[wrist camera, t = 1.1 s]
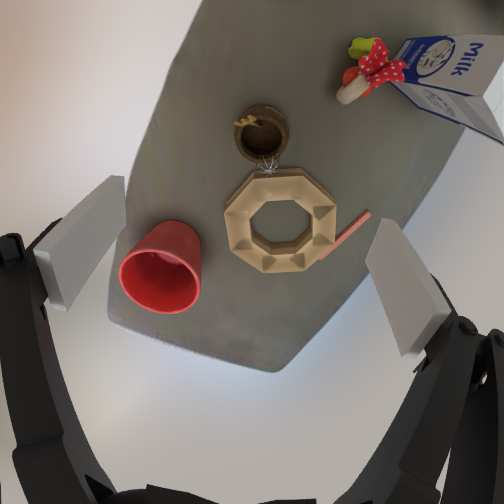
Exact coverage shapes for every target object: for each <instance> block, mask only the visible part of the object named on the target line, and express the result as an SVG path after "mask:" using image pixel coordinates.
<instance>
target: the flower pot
mask: <svg viewBox="0 0 504 504" xmlns="http://www.w3.org/2000/svg"><path fill="white" fill-rule="evenodd" d="M119 281H120V284H121V286H122V288H123V290H124V291H125V293H126V294H127V295H128V296H129V297H130V298H131V299H132V300H133V301H134V302H135V303H137V304H138V305H140V306H141V307H143V308H145V309H147V310H150V311H153V312H157V313H163V314H174V313H179V312H182V311H185V310H187V309H189V308H190V307H191V306H192V305H193V304H194V303H195V302H196V301H197V299H198V297H199V294H200V289H201V244H200V239H199V237H198V235H197V233H196V232H195V231H194V230H193V229H192V228H191V227H190V226H189V225H187V224H185V223H183V222H180V221H173V220H170V221H164V222H162V223H160V224H158V225H157V226H156V227H155V228H154V229H152V230H151V231H150V232H149V233H148V234H147V235H146V236H145V237H144V238H143V239H142V240H141V241H140V242H139V243H138V244H137V245H136V246H135V247H134V248H133V249H132V250H131V251H130V252H129V253H128V254H127V256H126V257H125V258H124V259H123V261H122V262H121V264H120V267H119Z"/></svg>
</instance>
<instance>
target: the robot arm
mask: <svg viewBox="0 0 504 504" xmlns="http://www.w3.org/2000/svg"><path fill="white" fill-rule="evenodd" d="M125 226H126V210H125V188H124V176H113V175H111V176H110V177H109V178H107V179H106V180H105V181H104V182H102V183H101V184H100V185H99V186H98V187H97V188H96V189H94V191H92V192H91V193H90V194H89V195H88V196H86V197H85V198H84V199H83V200H82V201H81V202H80V203H79V204H78V205H77V206H75V207H74V208H73V209H72V210H71V211H70V212H69V213H68V214H67V215H66V216H65V217H64V218H60V219H58V220H56V221H54V222H52V223H51V224H50V225H49V226H48V227H47V228H46V229H45V231H43V232H42V233H41V234H40V236H38V237H37V238H36V239H35V240H34V241H33V242H32V243H31V244H30V245H29V247H27V248H26V250H25V247H24V244H23V241H22V237H21V235H20V234H18V233H9V234H6V235H3V236H1V237H0V362H1V369H2V377H3V383H4V389H5V395H6V400H7V405H8V410H9V414H10V419H11V423H12V427H13V431H14V434H15V438H16V442H17V447H16V449H14V450H13V452H12V458H13V462H14V467H15V469H16V472H17V475H18V478H19V481H20V484H21V486H22V489H23V491H24V494H25V496H26V499H27V501H28V503H29V504H219V503H215V502H213V501H210V500H207V499H204V498H202V497H199V496H196V495H194V494H191V493H188V492H183V491H177V490H171V489H167V488H162V487H157V486H153V485H149V484H147V487H146V489H134V490H128V491H123V492H119V493H117V491H116V489H115V488H114V486H113V484H112V483H111V481H110V479H109V478H108V476H107V475H106V473H105V472H104V470H103V469H102V468H101V467H100V465H99V463H98V461H97V460H96V458H95V456H94V454H93V452H92V450H91V447H90V445H89V443H88V441H87V439H86V436H85V434H84V432H83V429H82V427H81V425H80V422H79V420H78V417H77V415H76V412H75V410H74V407H73V404H72V401H71V399H70V396H69V393H68V390H67V387H66V384H65V381H64V378H63V375H62V372H61V368H60V365H59V362H58V358H57V355H56V351H55V347H54V343H53V339H52V335H51V331H50V326H49V322H48V317H47V312H46V308H45V306H44V302H45V300H46V299H47V297H48V298H49V300H50V303H51V305H52V307H53V308H56V309H59V310H63V311H66V312H67V311H68V310H69V308H70V306H71V305H72V303H73V302H74V300H75V298H76V297H77V295H78V294H79V292H80V290H81V289H82V287H83V286H84V284H85V283H86V281H87V280H88V278H89V277H90V275H91V274H92V272H93V271H94V269H95V268H96V266H97V265H98V263H99V262H100V260H101V259H102V257H103V256H104V255H105V253H106V252H107V250H108V249H109V247H110V246H111V245H112V243H113V242H114V240H115V239H116V238H117V236H118V235H119V234H120V232H121V231H122V230H123V228H124V227H125ZM365 263H366V265H367V267H368V270H369V272H370V274H371V277H372V279H373V282H374V284H375V286H376V289H377V291H378V294H379V296H380V299H381V302H382V304H383V307H384V309H385V312H386V315H387V317H388V320H389V323H390V325H391V328H392V331H393V334H394V336H395V339H396V342H397V345H398V348H399V351H400V354H401V357H402V358H417V356H418V355H419V354H420V353H421V351H422V350H423V349H424V350H425V352H426V357H425V358H424V359H423V360H422V361H421V363H420V364H419V365H418V366H417V367H416V368H415V370H414V371H413V372H414V373H415V372H416V371H417V370H418V371H417V374H416V376H415V378H414V380H413V382H412V385H411V387H410V389H409V391H408V393H407V395H406V397H405V399H404V401H403V403H402V405H401V407H400V409H399V411H398V413H397V414H396V416H395V418H394V420H393V422H392V424H391V425H390V427H389V429H388V431H387V432H386V434H385V436H384V438H383V439H382V441H381V443H380V444H379V446H378V448H377V449H376V451H375V453H374V454H373V455H372V457H371V459H370V460H369V462H368V463H367V465H366V466H365V468H364V469H363V471H362V472H361V474H360V475H359V476H358V478H357V479H356V481H355V482H354V483H353V485H352V486H351V487H350V488H349V490H348V491H347V492H345V493H344V494H343V495H342V496H341V497H339V498H338V499H337V500H336V501H335V502H334V503H333V504H438V503H439V501H440V497H441V495H440V494H441V493H440V491H438V490H437V489H436V483H437V480H438V478H439V476H440V473H441V471H442V469H443V466H444V463H445V461H446V459H447V456H448V454H449V451H450V448H451V451H450V458H449V464H448V470H447V475H446V480H445V484H444V489H443V493H442V498H441V502H440V504H504V333H503V332H502V331H500V330H498V329H492V330H491V331H490V333H489V334H488V335H487V336H484V335H481V334H479V333H478V330H477V328H476V326H475V325H474V324H473V322H471V321H470V320H469V319H467V318H466V317H464V316H458V314H457V312H456V311H455V309H454V307H453V305H452V303H451V302H450V300H449V298H448V297H447V295H446V293H445V291H444V290H443V288H442V286H441V285H440V283H439V281H438V280H437V279H436V278H435V277H434V276H433V275H432V274H431V273H429V271H428V270H427V268H426V266H425V265H424V263H423V262H422V260H421V259H420V257H419V255H418V254H417V252H416V251H415V249H414V248H413V246H412V245H411V243H410V242H409V240H408V239H407V237H406V236H405V235H404V233H403V232H402V230H401V229H400V227H399V226H398V225H397V223H396V222H395V221H394V220H390V219H386V218H382V220H381V223H380V225H379V228H378V230H377V233H376V235H375V238H374V240H373V243H372V245H371V247H370V250H369V252H368V255H367V257H366V259H365ZM486 375H487V378H486V381H485V383H484V384H483V383H482V379H483V378H484V377H485V376H486ZM0 504H1V484H0ZM259 504H316V499H299V500H274V501H269V502H264V503H259Z"/></svg>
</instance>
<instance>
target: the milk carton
mask: <svg viewBox="0 0 504 504" xmlns="http://www.w3.org/2000/svg"><path fill="white" fill-rule="evenodd" d="M393 60H402V61H404V62H405V63H406V67H405V68H403V69H401V70H402V72H403V74H404V77H405V81H404V82H392V81H388V82H389V83H391V84H392V85H393V86H394V87H395V88H397V89H398V90H399V91H400V92H401V93H402V94H404V95H405V96H406V97H407V98H408V99H409V100H410V101H411V102H412V103H413V104H415V105H416V106H417V107H418V108H419V109H421V110H424V111H427V112H430V113H432V114H435V115H437V116H440V117H442V118H445V119H447V120H450V121H452V122H454V123H457V124H459V125H461V126H464V127H466V128H468V129H470V130H472V131H475V132H477V133H479V134H481V135H483V136H485V137H487V138H489V139H491V140H493V141H495V142H497V143H499V144H501V145H502V146H504V36H502V35H449V36H434V37H423V38H413V39H407V40H406V42H405V43H404V44H403V46H402V47H401V49H400V50H399V52H398V53H397V54H396V56H395V57H394V59H393Z"/></svg>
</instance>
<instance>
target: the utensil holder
mask: <svg viewBox="0 0 504 504" xmlns="http://www.w3.org/2000/svg"><path fill="white" fill-rule="evenodd" d="M234 124H235V125H236V126H235V130H234V137H235V141H236V145H237V147H238V149H239V151H240V153H241V154H242V155H243V156H244V157H245V158H247V159H248V160H250V161H253V162H256V167H257V164H258V163H263V164H264V163H267V162H270V163H271V161H272V162H273V160H275V159H277V158H278V157H279V156H280V155H281V154H282V153H283V151H284V149H285V147H286V145H287V143H288V139H289V128H288V125H287V122H286V120H285V118H284V116H283V115H282V113H281V112H280V111H278V110H277V109H276V108H274V107H272V106H269V105H255V106H252V107H250V108H248V109H247V110H245V111H244V112H243V113H242V114H241V116H240V117H239V119H238V121H237V122H235V123H234ZM277 161H278V160H277ZM278 163H280V158H279V162H278ZM278 165H279V164H278ZM278 165H277V166H278ZM266 166H267V164H266ZM271 166H272V164H271ZM277 166H276V167H277ZM276 167H275V168H276ZM279 167H280V165H279ZM261 168H262V167H261ZM267 168H268V167H267ZM275 168H274V169H275ZM270 169H271V168H270ZM264 170H266V169H264V167H263V172H264ZM272 170H273V168H272ZM257 171H258V169H257ZM267 171H268V172H270V173H271V172H273V171H271V170H269V168H268V170H267ZM279 171H280V170H279ZM279 171H277V172H279ZM259 173H260V172H259ZM265 173H267V172H265ZM268 174H269V173H268ZM271 175H272V174H271ZM273 175H274V172H273ZM273 175H272V176H273ZM264 176H265V174H264ZM267 176H268V175H267ZM267 176H266V177H267Z"/></svg>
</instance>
